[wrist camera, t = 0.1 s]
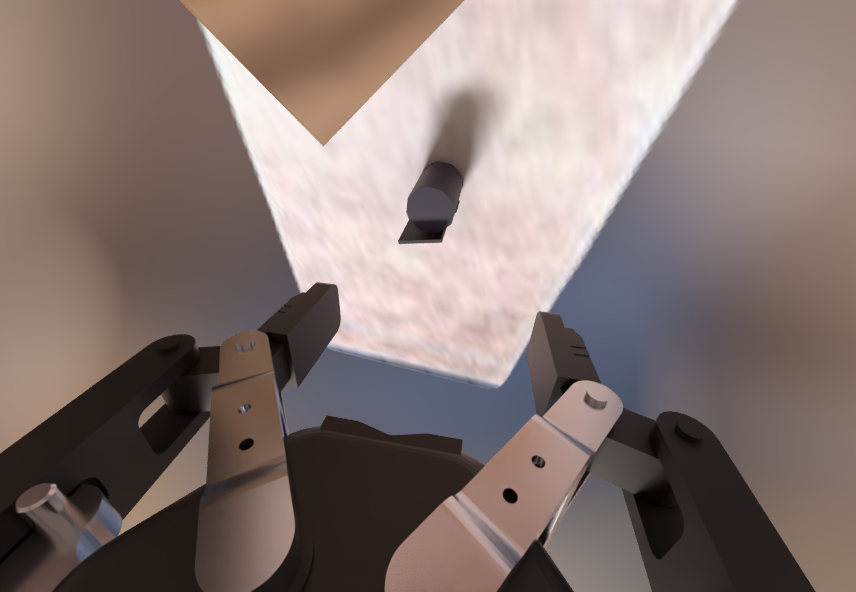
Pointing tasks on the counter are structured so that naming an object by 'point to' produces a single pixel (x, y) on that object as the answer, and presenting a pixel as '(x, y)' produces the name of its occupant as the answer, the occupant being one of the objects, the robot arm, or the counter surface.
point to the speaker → (432, 204)
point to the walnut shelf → (322, 48)
